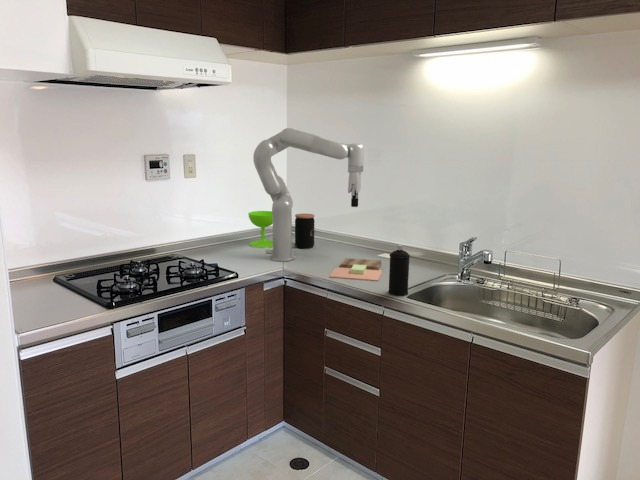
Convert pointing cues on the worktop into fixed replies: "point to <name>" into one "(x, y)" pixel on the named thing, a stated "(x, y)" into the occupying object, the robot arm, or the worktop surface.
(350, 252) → the worktop surface
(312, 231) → the coffee jar
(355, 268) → the sponge
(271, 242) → the wineglass
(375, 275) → the mat
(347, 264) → the plate
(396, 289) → the aerosol can
